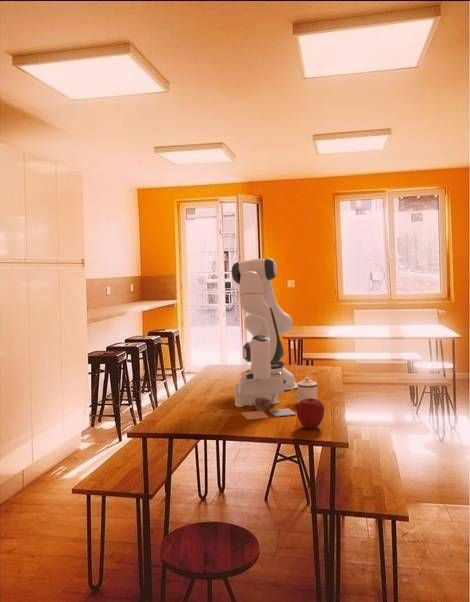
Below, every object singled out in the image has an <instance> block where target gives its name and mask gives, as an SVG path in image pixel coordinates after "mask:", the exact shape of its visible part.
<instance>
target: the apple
mask: <svg viewBox="0 0 470 602" xmlns="http://www.w3.org/2000/svg"><path fill="white" fill-rule="evenodd" d="M295 411H296V417H297V418H298V421H299V422H300V425H301V426H303V427H304V428H306V429H309V430H313V429H317V427H319V426H320V425H321V423H322V421H323V419H324V415H325V406H324V404H323V402H321V401H320V400H319V399H318V398H317V399H314V398H308V399H304V400H301V401H300V402H299V403H298V402H297V406H296V410H295Z"/></svg>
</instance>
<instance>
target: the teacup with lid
mask: <svg viewBox="0 0 470 602" xmlns="http://www.w3.org/2000/svg"><path fill="white" fill-rule="evenodd" d="M297 383H298V384H297V385H298V387H293V388H292V389H290V393H291V396H292V397H293V398H295V399H297V404H298V403H299V402H300V401H301V400H304V399H308V398H314V399H317V400H318V383H317V382H316V381H313V380H312V379H310V377H304V379H303V380H301V381H299V382H297ZM295 389H297V395H295V394H294V393H293V391H294V390H295Z"/></svg>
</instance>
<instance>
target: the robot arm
mask: <svg viewBox="0 0 470 602" xmlns="http://www.w3.org/2000/svg"><path fill="white" fill-rule="evenodd" d="M277 275H278V265H277V263H276V261H275V260H274V259H273V258H270V257H269V258H267V257H266V258H253V259H249V260H244V261H238V262H235V263H234V264H233V265H232V266H231V277H232V280H233V281H234V283H236V284H238V285H239V290H238V292H239V303H240V306H241V308H242V310H243V311H244V312H245V313H247V315H246V317H245V318H244V326H245V327H244V328H245V329H246V331H248V332H249V333H250V334H251V335H252V336H253V337H251V340H250V341H247V342H246V343H245V344H244V345H243V346H242V357H243V359H244V360H245V361H246V362H248V363H250V364H251V365H250V368H249V369H247V370H244V371H241V372H240V377H241V378H240V379H239V381H238V383H239V386H238V393H239V394H240V395H241V396H246V397H247V399H248V400H249V405H248V406H251V407H252V406H254V405H253V401H251V400H250V398H251V395H264V394H272V395H273V397H272V399H270V405H275V404H274V400H275V398H276V394H278V395H279V394H283V393H284V392H285V391H287V390H289V391H290V390H291V389H292V388H293V387H298V385H297V384H298V382H296V380H295V377H294V374H293V373H291V372H290V371H289V370H288V369H286V368H285V367H284V366H287V362H286V361H283V360H281V359H283V357H284V352H285V351H284V347H283V343H282V341H281V340H282V339H280V335H284V334H288V333H290V332H291V330H292V327H293V319H292V317H291V315H289V314H288V313H286V312H285V311H284V310H283V309H282V308H281V306H280V305H279V304H278V302H277V299H276V296H275V295H276V294H275V292H274V287H273V281H272V280H274V279H275V278H276V277H277Z"/></svg>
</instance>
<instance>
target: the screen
mask: <svg viewBox="0 0 470 602" xmlns="http://www.w3.org/2000/svg"><path fill="white" fill-rule="evenodd" d="M238 386H239V382H238V383H234V405H235V406H236V407H237V408H243V407H244V406H250V405H249V400H248V399H247V397H246V396H241V395H240V394H239V393H238ZM257 397H266V398H268V399H269V400H270V399H272V397H273V395H272V394H264V395H251V398H250V400H251V401H253V405H252V406H255V398H257ZM278 403H279V404H280V401H279V393H278V394H276V398H275V400H274V404H273V405H276V404H277V405H279V404H278Z"/></svg>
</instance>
